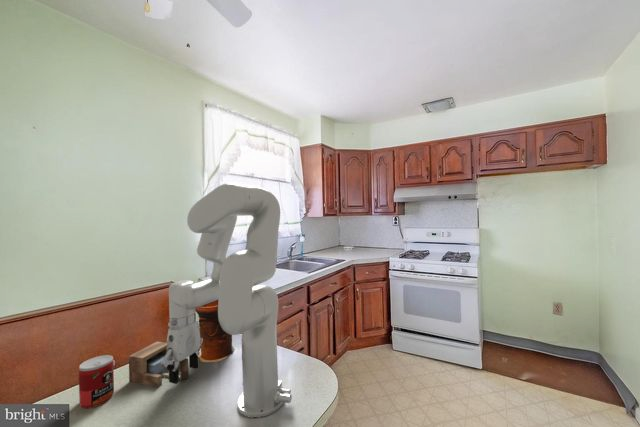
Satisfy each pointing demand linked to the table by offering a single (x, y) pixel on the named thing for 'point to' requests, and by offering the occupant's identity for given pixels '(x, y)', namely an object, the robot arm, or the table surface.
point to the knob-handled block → (157, 368)
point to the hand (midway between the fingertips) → (184, 374)
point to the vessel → (213, 335)
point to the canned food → (96, 381)
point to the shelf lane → (140, 365)
